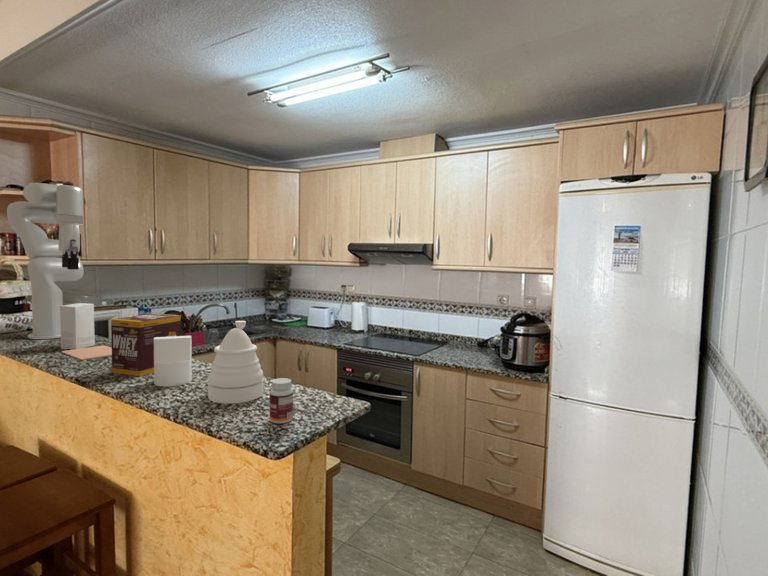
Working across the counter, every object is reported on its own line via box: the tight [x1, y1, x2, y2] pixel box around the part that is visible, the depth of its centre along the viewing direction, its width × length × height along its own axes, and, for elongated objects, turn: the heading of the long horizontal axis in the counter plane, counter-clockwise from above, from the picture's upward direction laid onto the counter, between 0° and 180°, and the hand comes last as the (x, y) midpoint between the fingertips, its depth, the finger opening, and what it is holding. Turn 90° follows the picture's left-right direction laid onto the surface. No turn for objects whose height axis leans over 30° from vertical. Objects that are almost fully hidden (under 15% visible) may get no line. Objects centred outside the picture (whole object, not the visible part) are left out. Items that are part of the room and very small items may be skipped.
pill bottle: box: [269, 377, 294, 424], centre depth 87 cm, size 5×5×8 cm
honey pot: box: [207, 320, 264, 404], centre depth 102 cm, size 13×13×18 cm
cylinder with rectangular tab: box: [153, 335, 193, 387], centre depth 111 cm, size 9×9×12 cm
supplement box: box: [110, 312, 182, 377], centre depth 123 cm, size 10×15×16 cm
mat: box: [60, 345, 112, 361], centre depth 141 cm, size 17×13×1 cm
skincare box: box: [60, 302, 96, 350], centre depth 147 cm, size 8×7×16 cm
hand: (70, 268), depth 149 cm, fingers open, 9 cm apart
